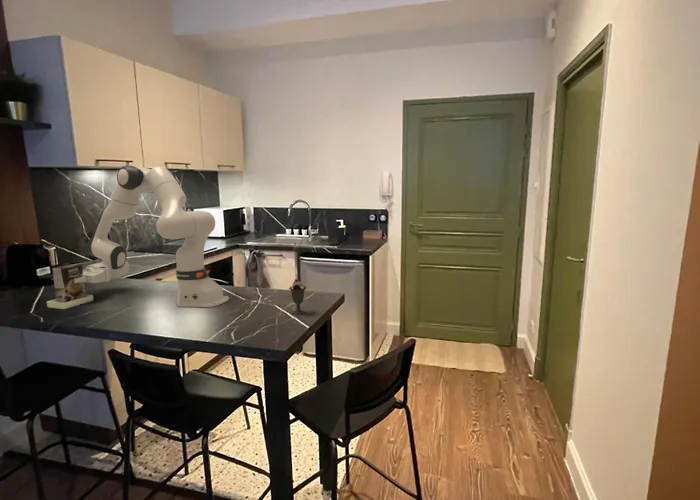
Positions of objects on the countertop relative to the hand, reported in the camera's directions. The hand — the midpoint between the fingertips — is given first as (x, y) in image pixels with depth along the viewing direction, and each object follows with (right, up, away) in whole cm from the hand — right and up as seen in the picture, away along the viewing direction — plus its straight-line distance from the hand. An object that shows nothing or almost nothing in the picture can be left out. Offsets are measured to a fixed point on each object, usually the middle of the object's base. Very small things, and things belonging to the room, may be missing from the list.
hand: (65, 280), depth 176 cm
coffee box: (+1, -10, +3) cm, 10 cm away
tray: (0, -10, +3) cm, 11 cm away
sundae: (+101, -12, -14) cm, 103 cm away
